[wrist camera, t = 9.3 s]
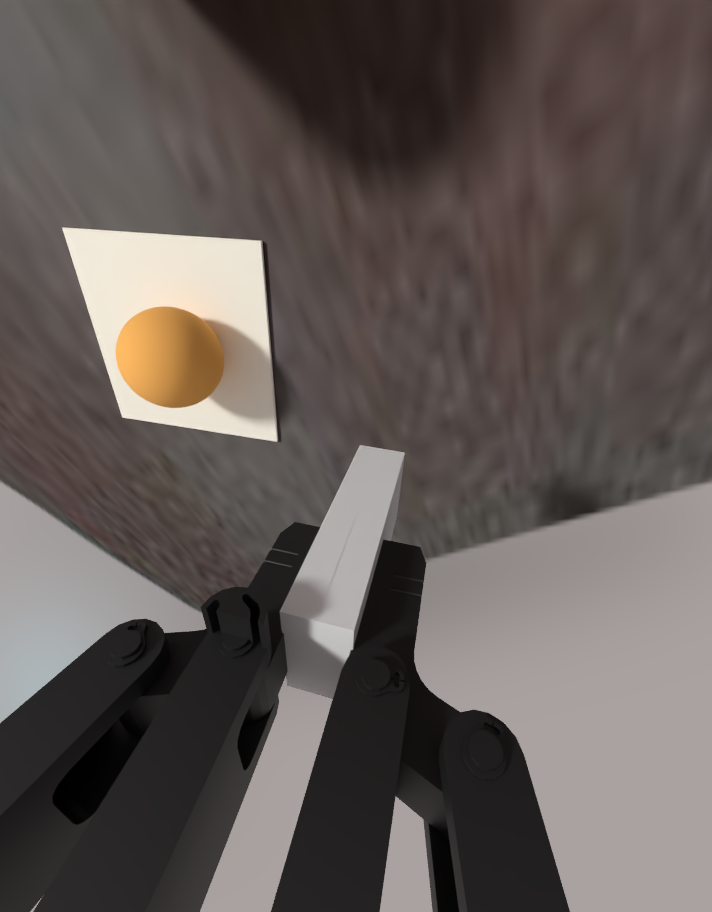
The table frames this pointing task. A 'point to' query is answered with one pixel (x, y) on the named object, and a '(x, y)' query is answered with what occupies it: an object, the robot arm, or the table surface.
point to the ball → (169, 357)
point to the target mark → (197, 291)
